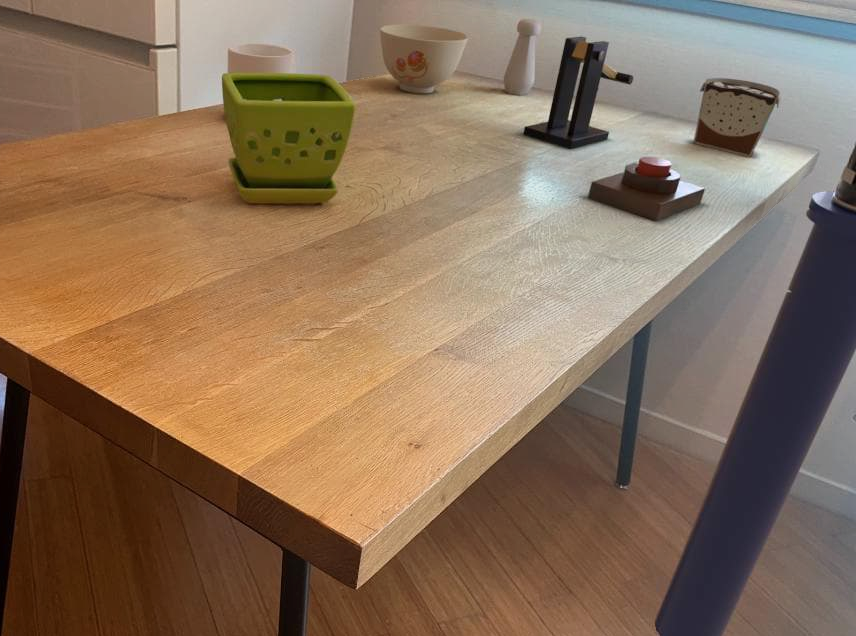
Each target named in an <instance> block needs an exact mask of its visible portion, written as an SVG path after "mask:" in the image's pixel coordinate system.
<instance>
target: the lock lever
mask: <svg viewBox="0 0 856 636" xmlns="http://www.w3.org/2000/svg"><path fill="white" fill-rule="evenodd" d="M588 43H589V42H588V41H586V42H583V41H578V42H577V44H576V47H575V49H574V52H573V54H572V57H574V58H575V59H576V60H578V61H579V62H581V64H582V63H583V64H584V59H585V55H586V51H587V46H588ZM600 79H605V80H609V81H613V82H617V83H621V84H625V85H631V84H632V83H633V82H634V75H633V74H628V73H624V72H619V71H616V70H615V69H613V67H611V66H610V65H609V64H607V63H606V62H605V61H604V66H603V70H602V74H601V78H600Z"/></svg>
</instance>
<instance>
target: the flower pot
mask: <svg viewBox="0 0 856 636" xmlns="http://www.w3.org/2000/svg"><path fill="white" fill-rule="evenodd" d="M221 91H222V92H221V93H222V102H223V111H224V118H225V122H226V123H225V124H226V127H227V132H228V135H229V140H230V144H231V147H232V150H233V154H234V156H235V157H229V158H228V160H227V161H228V163H227V164H228V166H229V169H230V172H231V175H232V177H233V180H234V183H235V185H236V186H235V187H236V189H237V191H238V193H239V195H240V197H241V198H242V199H243V200H244V201H245V203H247V204H248V205H249V204H250V205H255V204H315V205H317V206H318V205H319V206H322V205H324V203H327V202H328V201H330V200H331V199H333V198H334V197H335V196H336V195H337V194H338V192H339V189H338V186H337V184H336V183H335V181H334V179H333V177H334V175H335V174H336V172H337V170H338V168H339V167H340V164H341V162H342V160H343V158H344V155H345V153H346V150H347V147H348V143H349V141H350V136H351V132H352V128H353V123H354V118H355V111H356V105H355V104H356V103H355V102H354V99H353V98H352V97H351V96H350V94H349V93H348V92H347V91H346V90H345V89H344V87H342V85H341V84H340V83H338V82H337V80H335V79H334V78H332V76H329V75H326V74H315V73H314V74H313V73H295V74H287V73H228V72H225V73H222V75H221ZM243 99H247V100H243ZM274 99H282V101H273V100H274Z"/></svg>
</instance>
